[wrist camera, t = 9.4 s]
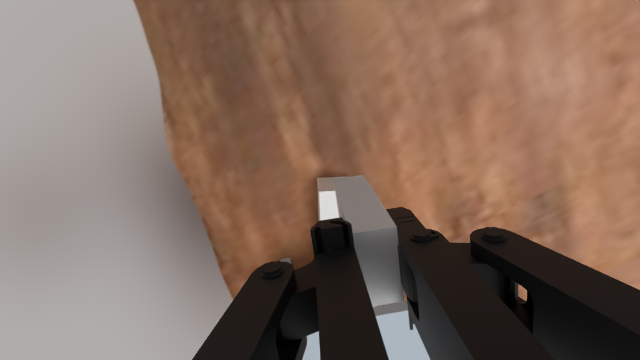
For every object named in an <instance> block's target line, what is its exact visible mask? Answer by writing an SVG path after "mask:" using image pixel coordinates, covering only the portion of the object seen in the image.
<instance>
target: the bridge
mask: <svg viewBox="0 0 640 360" xmlns="http://www.w3.org/2000/svg"><path fill="white" fill-rule="evenodd" d="M280 261H282V262H288V263H290V264H291V259H290V257H289V258H283V259H280ZM403 291H404V289H403ZM404 293H405V291H404ZM405 295H406V293H405ZM406 297H407V295H406ZM373 309H374V313H375V316H376V319H377V322H378V326H379V329H380V332H381V335H382V339H383V342H384V345H385V349H386V352H387V355H388V358H389V360H430V358H429V355H428V353H427V351H426V349H425V346H424V344H423V342H422V340H421V338H420V335H419V333H418V331H417V329H416V326H415V324H413V330H410V326H409V316H408V305H407V301H406V302H400V303H394V304H389V305H383V306H377V307H373ZM302 360H320V344H319V331H318V332H316V333H313V334H311V335H308V336H307V346H306V349H305V353H304V356H303V359H302Z"/></svg>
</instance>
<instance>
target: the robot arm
mask: <svg viewBox="0 0 640 360" xmlns="http://www.w3.org/2000/svg"><path fill="white" fill-rule="evenodd" d="M334 186H335V193H336V200H337V207H338V214H339V218H333V219H327V220H320V221H318V222H317V224H316V225H314V226H313V227H312V228H311V231H310V232H311V238H312V244H313V250H314V258H315V259H314V260H313V261H312V262H311V263H310V264H308V265H306V266H305V267H302V268H300V269H297V270H294V267H293V266H292V264H290V263H288V262H282V261H277V262H269V263H266V264H264V265H262V266H260V267H259V268H257V269H256V270H255V271H254V272H253V273H252V274H251V275H250V277H249V278H248V280H247V281H246V283H245V284H244V286H243V287H242V288H241V290H240V291H239V293H238V294H237V296H236V297H235V299H234V300H233V301H232V303H231V304H230V306H229V307H228V309H227V310H226V312H225V313H224V315H223V316H222V317H221V319H220V320H219V322H218V323H217V325H216V326H215V327H214V329H213V330H212V332H211V333H210V335H209V336H208V338H207V339H206V340H205V342H204V343H203V345H202V346H201V348H200V349H199V351H198V352H197V353H196V355H195V356H194V358H193V359H192V360H302V359H303V356H304V353H305V349H306V346H307V336H308V335H311V334H313V333H316V332H318V331H319V344H320V360H389V358H388V355H387V352H386V349H385V345H384V342H383V339H382V335H381V332H380V329H379V326H378V322H377V319H376V316H375V313H374V309H373V306H376V305H383V304H389V303H396V302H402V301H404V296H403V289H404V291H405V293H406V295H407V305H408V316H409V326H410V330H413V324H415V326H416V329H417V331H418V333H419V335H420V338H421V340H422V342H423V344H424V346H425V349H426V351H427V353H428V355H429V358H430V360H640V290H638V289H636V288H634V287H632V286H630V285H627V284H625V283H623V282H621V281H619V280H616V279H614V278H612V277H610V276H608V275H606V274H603V273H601V272H599V271H597V270H595V269H592V268H590V267H588V266H586V265H584V264H581V263H579V262H577V261H575V260H573V259H570V258H568V257H566V256H564V255H562V254H560V253H557V252H555V251H553V250H551V249H549V248H546V247H544V246H542V245H540V244H538V243H535V242H533V241H531V240H529V239H527V238H524V237H522V236H520V235H518V234H516V233H514V232H511V231H508V230H505V229H500V228H496V227H491V228H490V227H485V228H482V229H478V230H475V231H473V232H472V233H471V234H470V243H450V242H449V241H448V240H447V239H446V238H445V237H444V236H443V235H442V234H441V233H439V232H438V231H435V230H432V229H426V228H425V227H424V226H423V225H422V224H421V222H420V221H418V219H417V218H416V216H415V215H414V214H413V213H412V212H411V210H408V209H406V208H403V207H398V208H392V209H385V208H384V206H383V204H382V203H381V201H380V200H379V198H378V197H377V195H376V194H375V192H374V190H373V189H372V187H371V186H370V184H369V183H368V181H367V180H366V178H365V176H364V175H359V176H352V177H346V178H339V179H334ZM518 284H520V285H521V286H523V287H524V288H525V289H526V290H527V301H525V300H523V299H521V298H520V297H518Z"/></svg>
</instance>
